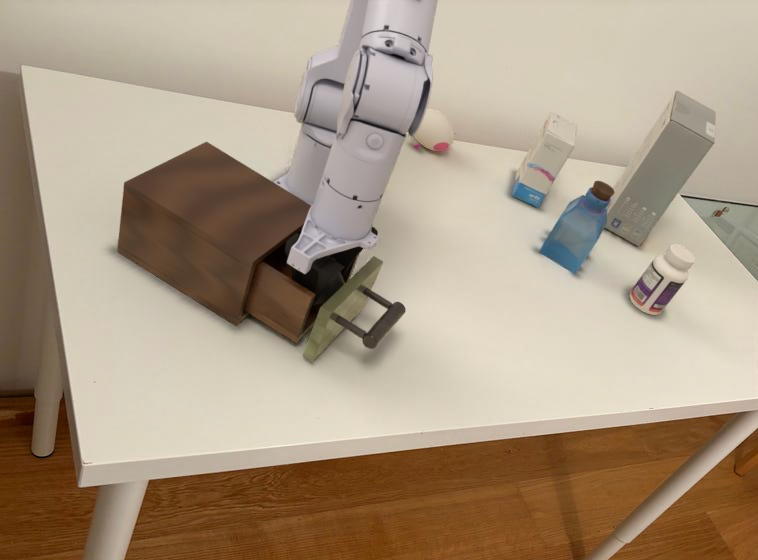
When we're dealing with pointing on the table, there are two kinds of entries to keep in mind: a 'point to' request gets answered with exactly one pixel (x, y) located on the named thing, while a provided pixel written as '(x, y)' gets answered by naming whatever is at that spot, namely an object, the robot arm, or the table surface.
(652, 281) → the pill bottle
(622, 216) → the hard drive box
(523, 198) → the ink box
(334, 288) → the tape
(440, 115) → the stress ball
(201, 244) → the cabinet
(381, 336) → the drawer
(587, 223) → the perfume bottle
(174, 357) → the table surface
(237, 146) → the table surface
